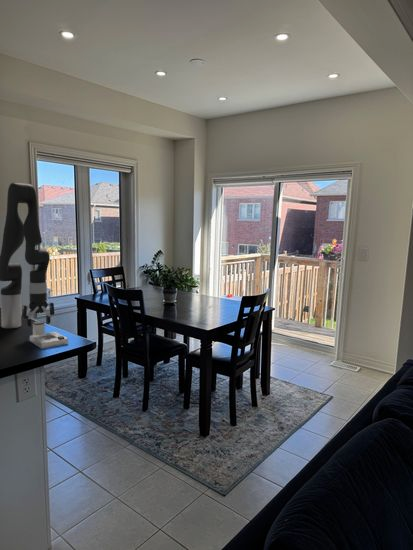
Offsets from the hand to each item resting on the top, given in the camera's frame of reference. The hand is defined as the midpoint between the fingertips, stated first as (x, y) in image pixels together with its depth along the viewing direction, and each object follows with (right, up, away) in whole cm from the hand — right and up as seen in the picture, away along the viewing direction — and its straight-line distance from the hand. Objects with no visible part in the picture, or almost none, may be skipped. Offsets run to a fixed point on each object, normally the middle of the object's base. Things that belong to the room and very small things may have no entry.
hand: (38, 325), depth 181 cm
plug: (-1, -6, +1) cm, 6 cm away
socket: (+8, -7, -7) cm, 13 cm away
